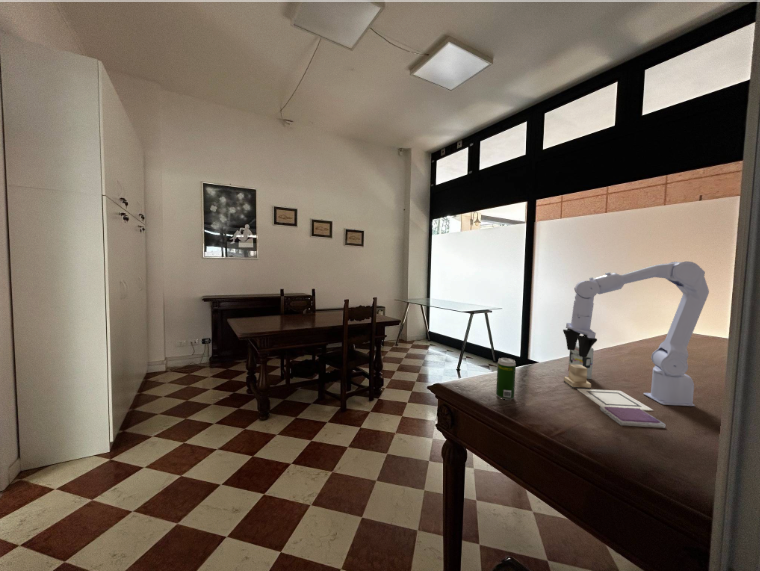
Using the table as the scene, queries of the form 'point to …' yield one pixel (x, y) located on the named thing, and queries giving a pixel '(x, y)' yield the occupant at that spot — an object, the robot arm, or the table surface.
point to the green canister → (505, 378)
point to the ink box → (582, 360)
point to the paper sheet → (613, 399)
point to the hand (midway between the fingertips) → (576, 353)
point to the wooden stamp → (577, 377)
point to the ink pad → (632, 417)
